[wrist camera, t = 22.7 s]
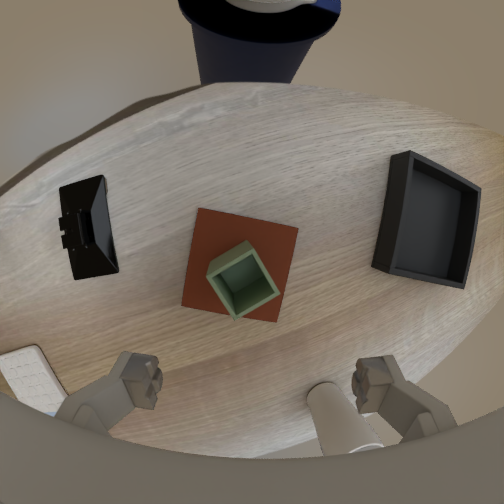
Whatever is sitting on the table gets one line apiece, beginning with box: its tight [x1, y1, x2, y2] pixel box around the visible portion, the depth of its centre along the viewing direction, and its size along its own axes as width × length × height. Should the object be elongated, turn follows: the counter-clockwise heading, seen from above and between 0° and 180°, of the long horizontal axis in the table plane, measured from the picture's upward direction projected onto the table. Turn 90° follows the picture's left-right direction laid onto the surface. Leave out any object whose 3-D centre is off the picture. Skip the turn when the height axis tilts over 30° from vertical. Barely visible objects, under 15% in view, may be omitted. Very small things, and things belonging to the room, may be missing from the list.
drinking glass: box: [307, 383, 384, 456], centre depth 31 cm, size 7×7×15 cm
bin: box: [371, 150, 481, 289], centre depth 34 cm, size 16×16×5 cm
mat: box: [181, 208, 298, 322], centre depth 34 cm, size 12×12×1 cm
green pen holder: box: [206, 240, 280, 321], centre depth 30 cm, size 5×5×8 cm
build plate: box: [58, 175, 119, 280], centre depth 29 cm, size 12×7×5 cm, turn 9°
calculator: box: [0, 345, 68, 417], centre depth 33 cm, size 13×20×2 cm, turn 19°
